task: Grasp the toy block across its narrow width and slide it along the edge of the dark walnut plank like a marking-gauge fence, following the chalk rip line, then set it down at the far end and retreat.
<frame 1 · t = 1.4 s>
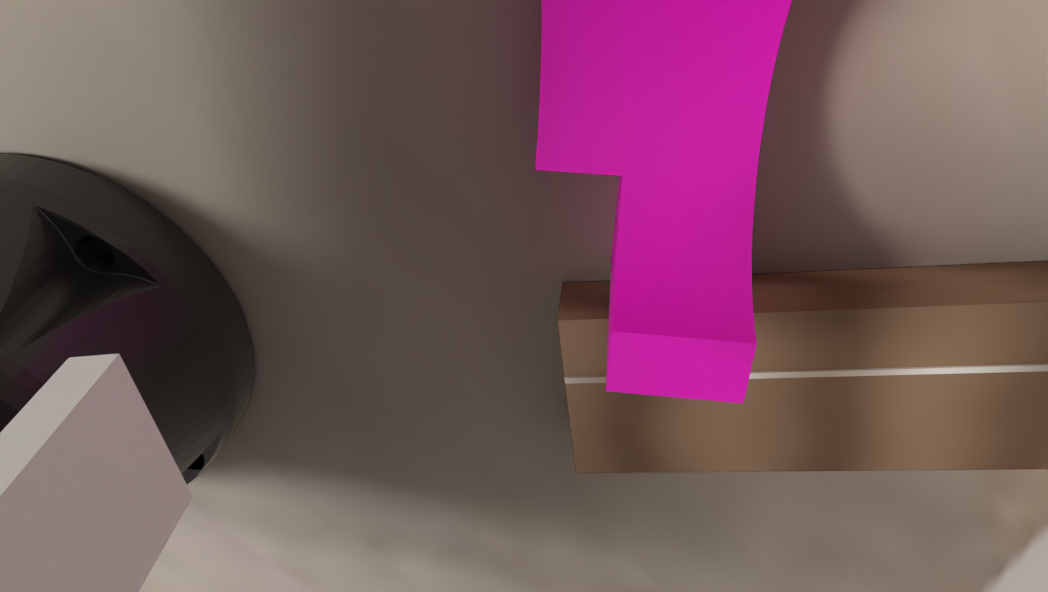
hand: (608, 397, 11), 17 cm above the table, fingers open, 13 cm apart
walnut plank: (803, 353, 30), on the table
toy block: (652, 40, 25), on the table
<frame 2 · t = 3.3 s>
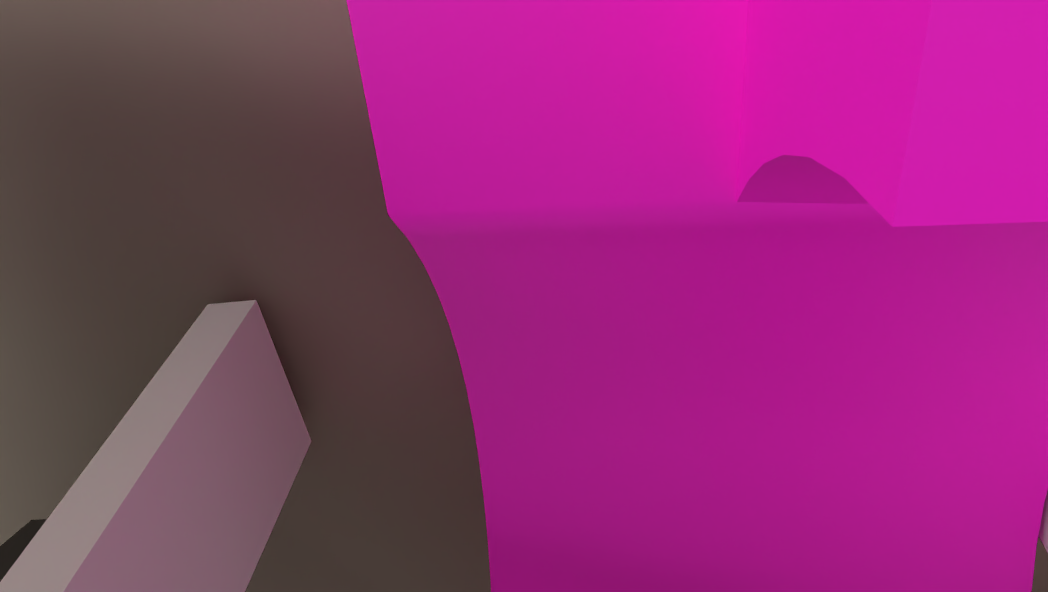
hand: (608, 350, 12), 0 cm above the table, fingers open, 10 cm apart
toy block: (724, 272, 11), on the table, touching gripper
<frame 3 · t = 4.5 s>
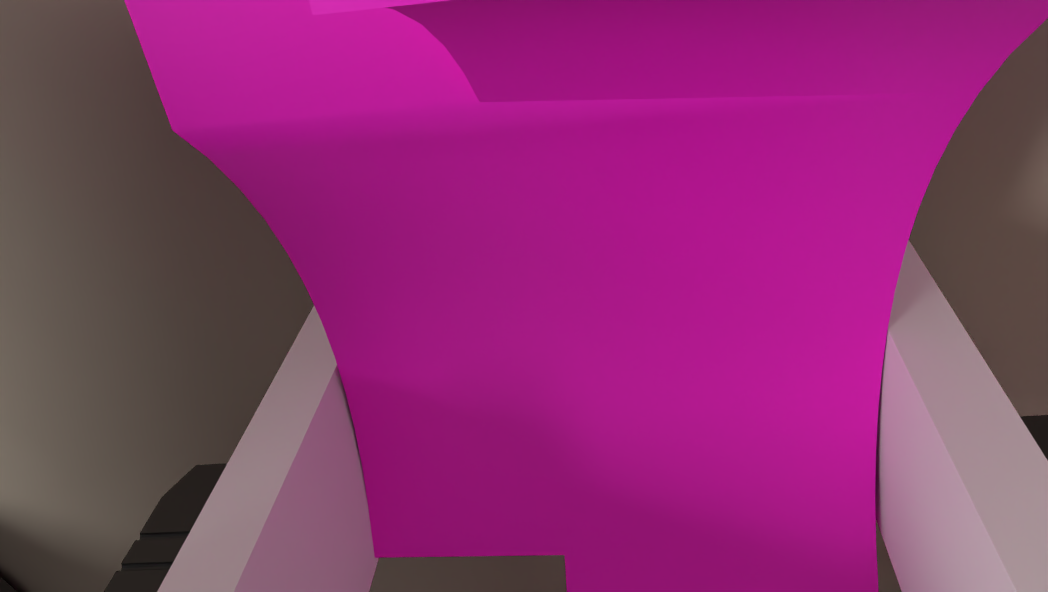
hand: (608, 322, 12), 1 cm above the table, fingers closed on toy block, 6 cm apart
toy block: (600, 215, 12), point 1 cm above the table, touching gripper
when the fingers open (0 cm above the table, at t = 7.4 s): toy block stays where it is, on the table.
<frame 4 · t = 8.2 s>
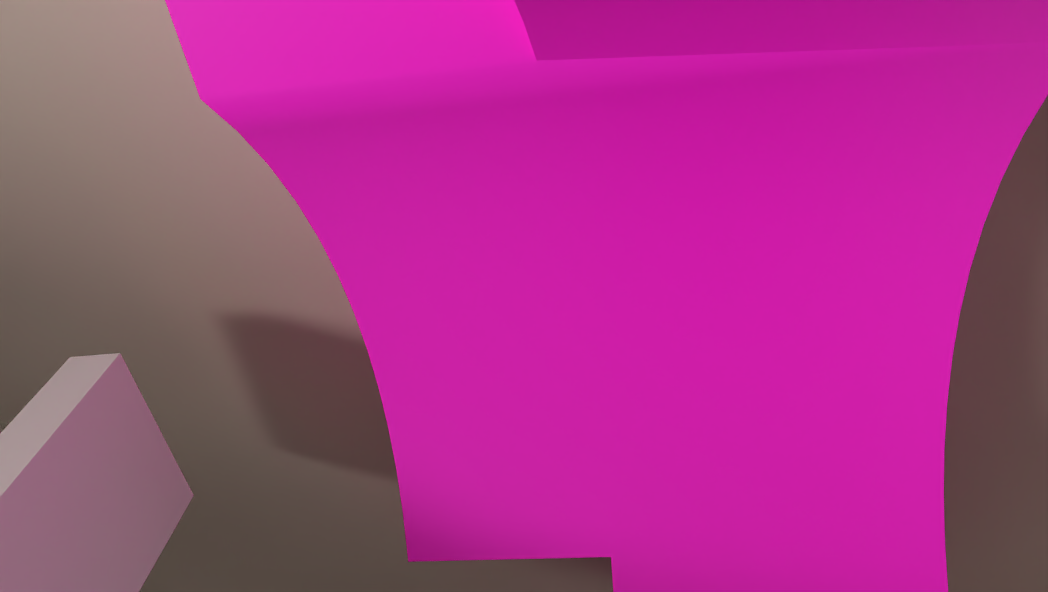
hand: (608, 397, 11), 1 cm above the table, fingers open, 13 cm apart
toy block: (638, 199, 11), on the table
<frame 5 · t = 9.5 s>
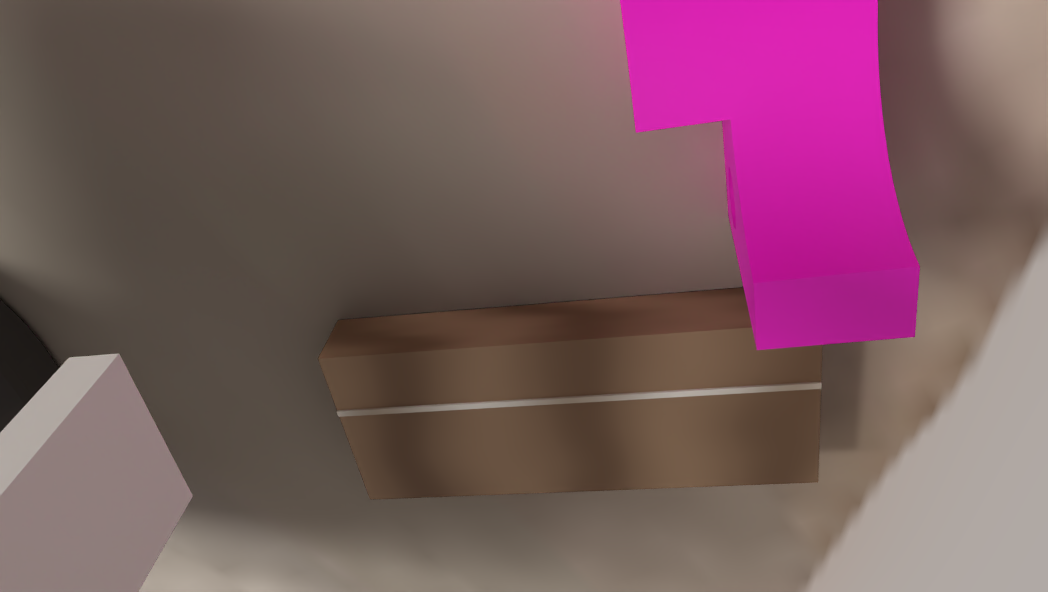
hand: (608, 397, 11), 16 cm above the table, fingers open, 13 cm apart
walnut plank: (574, 378, 31), on the table
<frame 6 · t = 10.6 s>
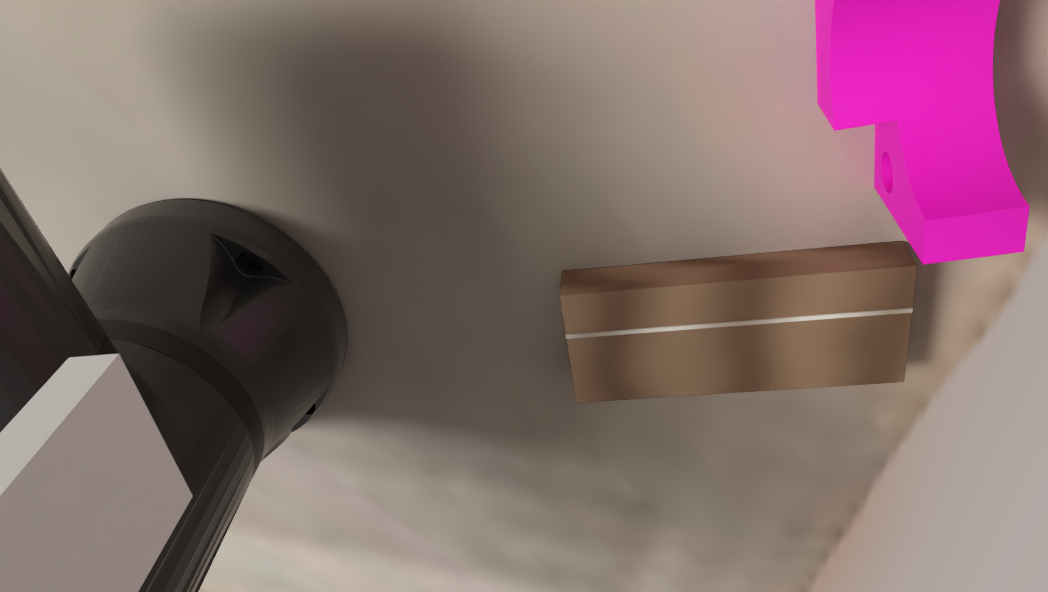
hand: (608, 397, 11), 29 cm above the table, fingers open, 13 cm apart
walnut plank: (728, 313, 44), on the table
toy block: (889, 25, 36), on the table
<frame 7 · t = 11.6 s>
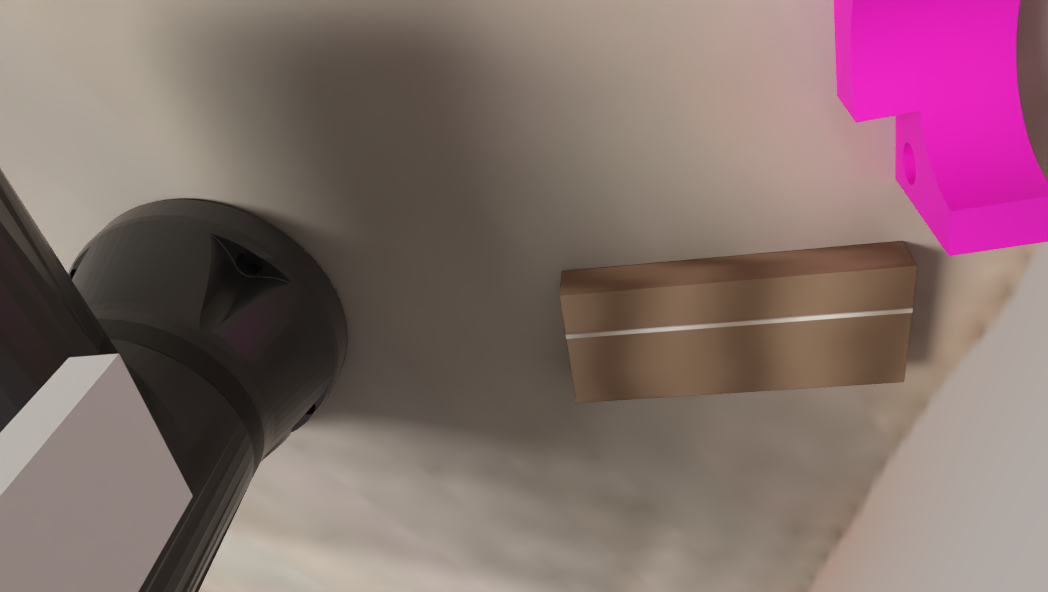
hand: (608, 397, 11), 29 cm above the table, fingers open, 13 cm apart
walnut plank: (728, 313, 44), on the table
toy block: (908, 15, 35), on the table
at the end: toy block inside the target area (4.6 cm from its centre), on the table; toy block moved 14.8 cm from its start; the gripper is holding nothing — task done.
